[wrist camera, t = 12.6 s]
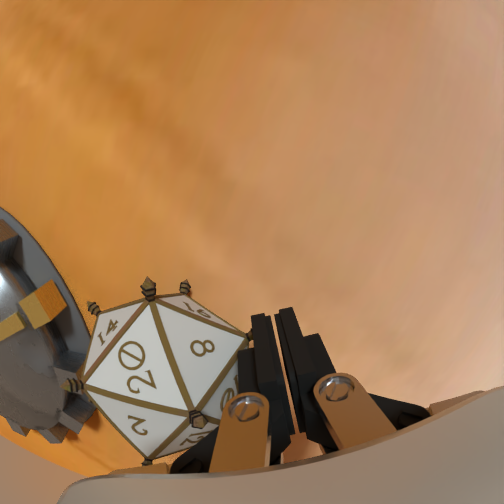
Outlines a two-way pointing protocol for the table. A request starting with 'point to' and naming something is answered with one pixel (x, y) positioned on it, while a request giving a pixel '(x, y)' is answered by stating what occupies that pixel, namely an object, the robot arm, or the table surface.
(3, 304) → the grey dial
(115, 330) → the game die
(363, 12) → the table surface
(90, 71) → the table surface
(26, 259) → the mat
